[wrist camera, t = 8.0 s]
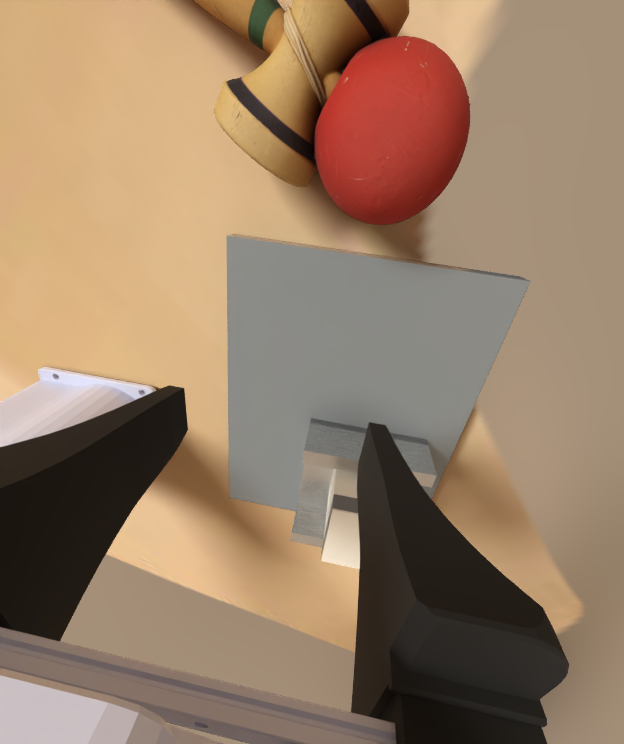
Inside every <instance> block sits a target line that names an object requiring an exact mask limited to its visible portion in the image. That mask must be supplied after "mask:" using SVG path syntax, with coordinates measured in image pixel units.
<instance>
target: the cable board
mask: <svg viewBox="0 0 624 744" xmlns="http://www.w3.org/2000/svg"><path fill="white" fill-rule="evenodd" d="M529 284H530V281H529V280H527V279H525V278H522V277H520V276H513V275H506V274H499V273H493V272H486V271H480V270H473V269H466V268H460V267H453V266H446V265H439V264H433V263H426V262H419V261H413V260H406V259H399V258H392V257H386V256H379V255H372V254H366V253H359V252H352V251H345V250H339V249H332V248H325V247H319V246H312V245H305V244H298V243H292V242H285V241H278V240H272V239H265V238H258V237H251V236H245V235H238V234H232V235H228V236H227V320H228V425H229V498H233V499H238V500H243V501H248V502H252V503H257V504H262V505H267V506H272V507H277V508H282V509H287V510H292V511H296V510H297V506H298V501H299V494H300V487H301V481H302V474H303V467H304V463H302V459H303V452H304V447H305V443H306V438H307V434H308V430H309V426H310V421H311V418H314V419H319V420H325V421H330V422H335V423H341V424H346V425H352V426H357V427H362V428H368V424H369V422H371V423H376V424H382V425H386V427H387V428H388V430H389V432H390V433H395V434H400V435H406V436H411V437H417V438H422V439H427V443H428V446H429V450H430V453H431V457H432V460H433V464H434V467H435V471H436V474H437V477H436V479H435V481H434V484H433V486H432V488H431V487H426V486H422V487H423V489H424V490H425V492H426V493H427V494H428V496H429V497H430V498H431V499H432V497H433V495H434V493H435V491H436V488H437V486H438V484H439V482H440V480H441V477H442V475H443V473H444V471H445V469H446V466H447V464H448V462H449V460H450V458H451V455H452V453H453V451H454V449H455V447H456V444H457V442H458V440H459V438H460V436H461V433H462V431H463V429H464V427H465V424H466V422H467V420H468V418H469V416H470V413H471V411H472V409H473V407H474V405H475V402H476V400H477V398H478V396H479V393H480V391H481V389H482V387H483V385H484V382H485V380H486V378H487V376H488V374H489V371H490V369H491V367H492V365H493V363H494V361H495V358H496V356H497V354H498V352H499V349H500V347H501V345H502V343H503V341H504V339H505V336H506V334H507V332H508V330H509V327H510V325H511V323H512V321H513V319H514V317H515V314H516V312H517V310H518V307H519V306H520V303H521V301H522V299H523V297H524V294H525V292H526V290H527V288H528V286H529Z"/></svg>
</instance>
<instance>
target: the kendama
mask: <svg viewBox="0 0 624 744" xmlns="http://www.w3.org/2000/svg"><path fill="white" fill-rule="evenodd" d="M194 1H195V2H196V3H197V4H199V5H200V6H201V7H202V8H204V9H205V10H206V11H208V12H209V13H210V14H212V15H213V16H214V17H216V18H217V19H218V20H220V21H221V22H223V23H224V24H226V25H227V26H229V27H230V28H231V29H233V30H234V31H236V32H237V33H239V34H240V35H241V36H243V37H244V38H246V39H247V40H249V41H250V42H252V43H253V44H254V45H256V46H257V47H259V48H261V49H262V50H264V51H265V52H266V53H267V54H269V55H270V56H269V57H268V59H267V60H266V61H265V62H264V63H263V64H262V65H260V66H259V67H258V68H257V69H255V70H254V71H252V72H251V73H249V74H247V75H245V76H243V77H240V78H237V79H232V80H229V81H224V83H223V86H222V89H221V91H220V94H219V97H218V100H217V103H216V106H215V109H214V114H215V117H216V119H217V121H218V123H219V124H220V126H221V127H222V128H223V130H224V131H225V132H226V133H227V134H228V136H229V137H230V138H231V139H232V140H233V141H234V142H235V143H236V144H237V145H238V146H239V147H240V148H241V149H242V150H243V151H244V152H246V153H247V154H248V155H249V156H250V157H251V158H252V159H254V160H255V161H256V162H257V163H258V164H260V165H261V166H263V167H264V168H265V169H267V170H268V171H270V172H271V173H272V174H274V175H275V176H277V177H278V178H280V179H282V180H284V181H285V182H287V183H289V184H292V185H294V186H298V187H306V186H307V184H308V183H309V181H310V180H311V178H312V177H313V176H314V174H315V173H316V171H317V170H318V171H319V175H320V178H321V180H322V183H323V186H324V188H325V190H326V191H327V193H328V195H329V196H330V197H331V199H332V200H333V202H334V203H335V204H336V205H337V206H338V207H339V208H340V209H341V210H343V211H344V212H345V213H346V214H348V215H350V216H351V217H353V218H355V219H357V220H359V221H362V222H365V223H370V224H377V225H388V224H394V223H398V222H401V221H404V220H406V219H408V218H410V217H412V216H414V215H416V214H417V213H419V212H420V211H422V210H423V209H425V208H426V207H427V206H429V205H430V204H431V203H432V202H433V201H434V200H435V199H436V198H437V197H438V196H439V195H440V194H441V193H442V191H443V190H444V189H445V187H446V186H447V185H448V183H449V182H450V180H451V179H452V177H453V175H454V173H455V171H456V170H457V168H458V166H459V163H460V161H461V158H462V156H463V153H464V150H465V147H466V143H467V138H468V133H469V127H470V103H469V97H468V95H467V90H466V87H465V84H464V82H463V79H462V77H461V74H460V73H459V71H458V69H457V68H456V66H455V64H454V63H453V61H452V60H451V59H450V57H449V56H448V55H447V54H446V53H445V52H444V51H442V50H441V49H440V48H438V47H437V46H436V45H435V44H433V43H430V42H428V41H426V40H423V39H421V38H416V37H409V36H401V37H397V35H398V33H399V32H400V30H401V28H402V26H403V24H404V22H405V21H406V19H407V17H408V15H409V0H293V5H292V8H290V7H289V6H288V7H287V10H286V11H284V10H283V8H282V7H281V6H280V4H279V3H278V2H277V0H194Z"/></svg>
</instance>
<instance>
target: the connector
mask: <svg viewBox="0 0 624 744" xmlns="http://www.w3.org/2000/svg"><path fill="white" fill-rule="evenodd" d="M357 475H358V473H354V472H349V471H343V470H338V469H334V472H333V477H332V481H331V486H330V491H329V496H328V503H327V512H326V521H325V530H324V539H323V545H322V554H321V561H323V562H328V563H332V564H337V565H342V566H346V567H351V568H356V569H360V540H359V522H358V503H357Z"/></svg>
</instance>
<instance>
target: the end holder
mask: <svg viewBox="0 0 624 744" xmlns="http://www.w3.org/2000/svg"><path fill="white" fill-rule="evenodd" d="M366 432H367V428H362V427H357V426H352V425H346V424H341V423H335V422H330V421H325V420H319V419H314V418H311V421H310V426H309V430H308V434H307V438H306V443H305V447H304V452H303V459H302V463H304V467H303V474H302V481H301V487H300V494H299V501H298V506H297V510H296V515H295V520H294V525H293V529H292V535H291V541H294V542H298V543H303V544H308V545H313V546H317V547H322V545H323V539H324V530H325V521H326V512H327V503H328V496H329V491H330V486H331V481H332V477H333V472H334V469H338V470H343V471H349V472H354V473H358V462H359V458H360V454H361V451H362V447H363V443H364V439H365V435H366ZM390 434H391V436H392V438H393V440H394V442H395V444H396V445H397V447H398V449H399V451H400V453H401V454H402V456H403V458H404V460H405V461H406V463H407V464H408V466H409V468H410V469H411V471H412V473H413V474H414V476H415V477H416V479H417V480H418V482H419V483H420V484H421V486H426V487H431V488H432V486H433V484H434V481H435V479H436V477H437V474H436V471H435V467H434V464H433V460H432V457H431V453H430V450H429V446H428V443H427V439H422V438H417V437H411V436H406V435H400V434H395V433H390Z"/></svg>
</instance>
